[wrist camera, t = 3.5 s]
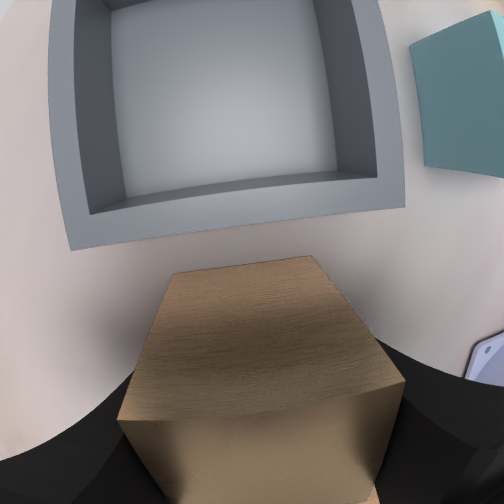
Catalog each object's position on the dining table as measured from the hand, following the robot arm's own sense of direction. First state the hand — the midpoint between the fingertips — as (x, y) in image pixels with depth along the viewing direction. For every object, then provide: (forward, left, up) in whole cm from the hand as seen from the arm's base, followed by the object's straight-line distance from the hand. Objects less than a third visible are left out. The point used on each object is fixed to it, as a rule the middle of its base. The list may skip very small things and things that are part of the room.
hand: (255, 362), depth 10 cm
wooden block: (0, 0, -2) cm, 2 cm away
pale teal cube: (-10, -8, -2) cm, 13 cm away
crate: (0, -9, -2) cm, 9 cm away
